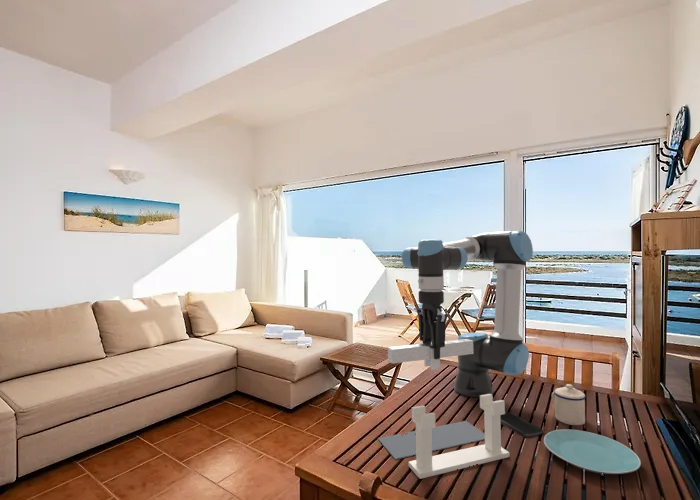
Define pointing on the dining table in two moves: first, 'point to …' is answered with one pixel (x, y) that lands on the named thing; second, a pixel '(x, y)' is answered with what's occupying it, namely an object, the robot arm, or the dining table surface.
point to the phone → (520, 425)
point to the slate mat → (433, 439)
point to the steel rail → (428, 351)
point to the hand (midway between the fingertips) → (432, 367)
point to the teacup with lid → (569, 405)
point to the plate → (592, 451)
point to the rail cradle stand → (460, 458)
